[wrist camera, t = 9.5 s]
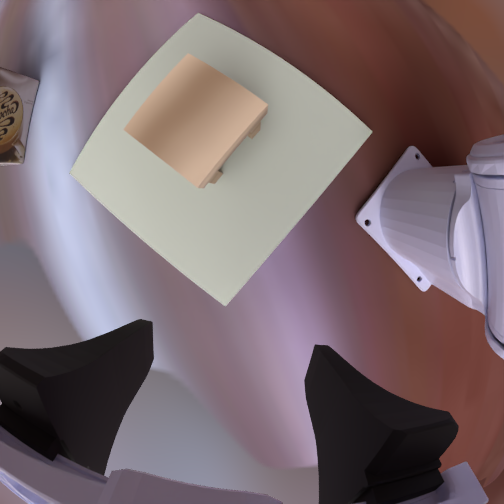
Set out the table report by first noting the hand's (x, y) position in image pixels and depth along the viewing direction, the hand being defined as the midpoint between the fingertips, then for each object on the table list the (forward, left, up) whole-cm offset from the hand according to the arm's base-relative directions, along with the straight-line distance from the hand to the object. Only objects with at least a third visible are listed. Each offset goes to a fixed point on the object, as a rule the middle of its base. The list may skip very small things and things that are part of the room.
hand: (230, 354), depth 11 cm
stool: (+9, -7, -9) cm, 14 cm away
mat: (+9, -7, -9) cm, 14 cm away
